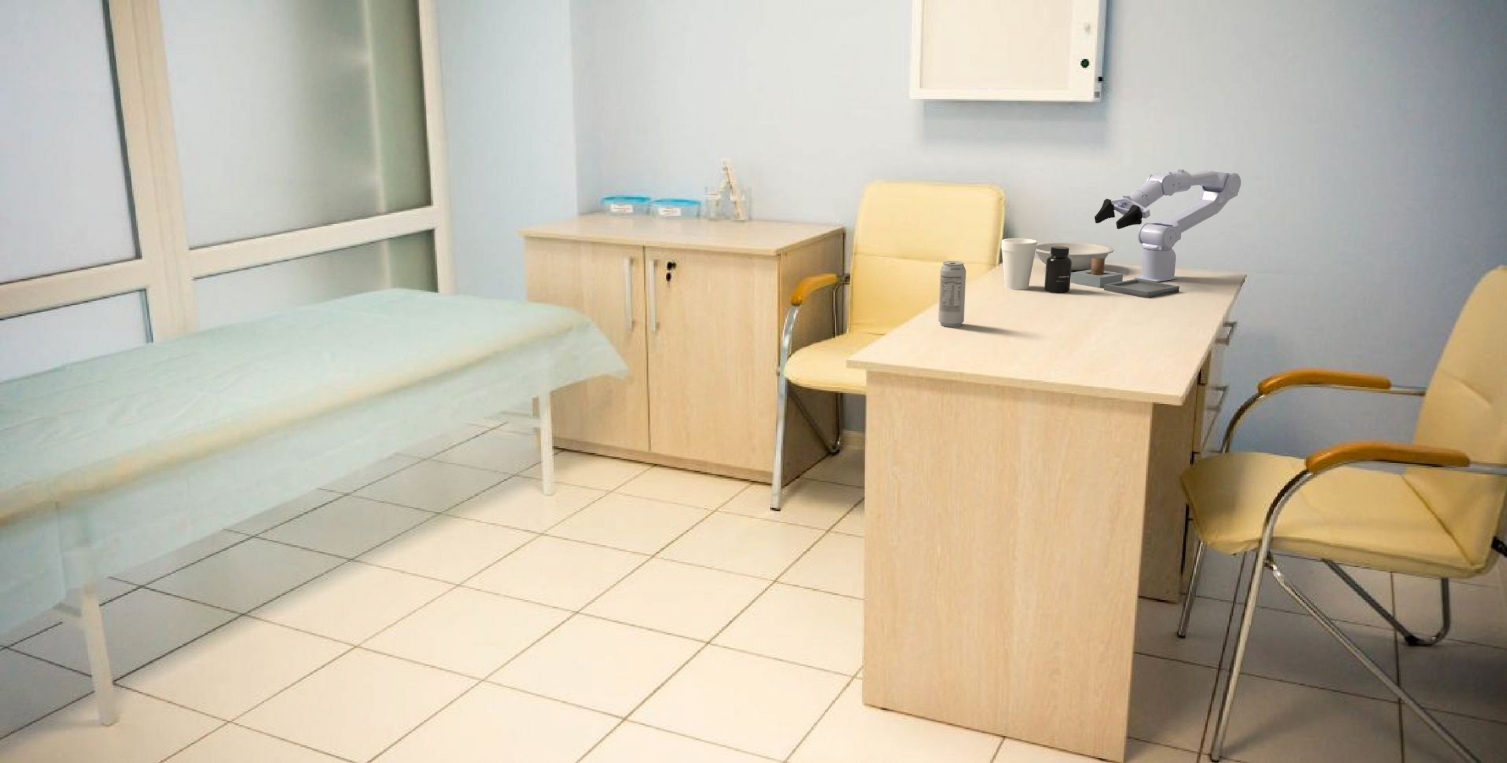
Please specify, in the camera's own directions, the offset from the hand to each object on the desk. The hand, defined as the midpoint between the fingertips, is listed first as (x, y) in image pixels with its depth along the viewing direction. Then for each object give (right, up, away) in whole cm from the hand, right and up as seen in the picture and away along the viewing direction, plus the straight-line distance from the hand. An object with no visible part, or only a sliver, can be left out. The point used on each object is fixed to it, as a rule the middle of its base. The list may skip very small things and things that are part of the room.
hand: (1106, 223), depth 341 cm
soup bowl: (-2, -10, +31) cm, 33 cm away
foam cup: (-24, -18, +3) cm, 30 cm away
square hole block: (0, -16, +9) cm, 18 cm away
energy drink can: (-50, -30, -43) cm, 72 cm away
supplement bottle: (-14, -19, -2) cm, 24 cm away
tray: (+9, -19, -2) cm, 21 cm away
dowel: (0, -16, +9) cm, 18 cm away
